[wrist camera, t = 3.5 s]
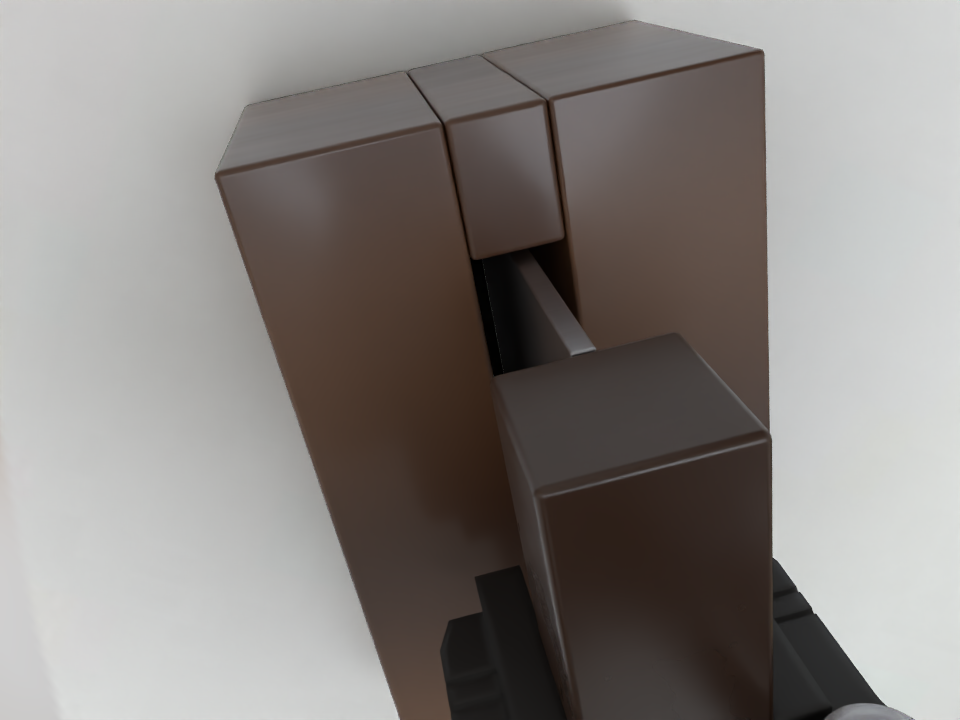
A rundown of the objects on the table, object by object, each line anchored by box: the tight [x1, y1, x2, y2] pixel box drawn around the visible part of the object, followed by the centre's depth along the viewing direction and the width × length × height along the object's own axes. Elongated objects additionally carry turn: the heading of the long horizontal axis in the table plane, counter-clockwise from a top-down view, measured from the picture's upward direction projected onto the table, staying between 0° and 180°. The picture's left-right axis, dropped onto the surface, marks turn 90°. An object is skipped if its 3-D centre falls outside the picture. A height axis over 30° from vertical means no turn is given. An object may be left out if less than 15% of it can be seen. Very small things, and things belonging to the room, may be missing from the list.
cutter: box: [482, 248, 773, 720], centre depth 13 cm, size 10×2×9 cm, turn 10°
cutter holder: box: [215, 20, 770, 720], centre depth 16 cm, size 15×7×5 cm, turn 10°
